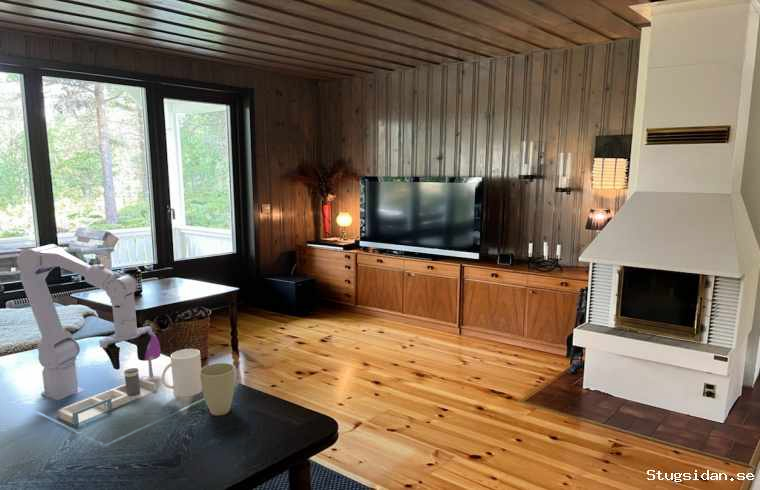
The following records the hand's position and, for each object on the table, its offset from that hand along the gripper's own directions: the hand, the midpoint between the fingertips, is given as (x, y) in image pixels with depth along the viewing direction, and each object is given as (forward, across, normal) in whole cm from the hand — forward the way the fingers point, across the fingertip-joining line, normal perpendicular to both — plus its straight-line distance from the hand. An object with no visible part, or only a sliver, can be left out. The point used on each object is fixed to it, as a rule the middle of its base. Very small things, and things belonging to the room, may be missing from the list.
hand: (129, 364), depth 151 cm
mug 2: (+10, +8, -28) cm, 31 cm away
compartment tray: (+10, -6, 0) cm, 12 cm away
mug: (+10, +9, -11) cm, 18 cm away
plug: (+9, +1, 0) cm, 9 cm away
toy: (+10, +12, +9) cm, 18 cm away
